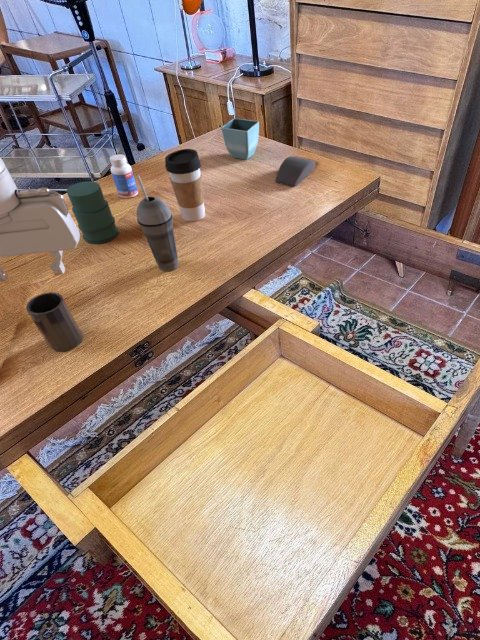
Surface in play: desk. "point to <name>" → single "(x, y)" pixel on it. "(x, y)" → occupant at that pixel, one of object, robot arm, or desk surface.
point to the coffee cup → (187, 182)
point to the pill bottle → (123, 176)
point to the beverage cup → (158, 230)
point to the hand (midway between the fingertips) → (31, 275)
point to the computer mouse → (294, 170)
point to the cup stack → (92, 212)
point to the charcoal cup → (55, 321)
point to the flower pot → (241, 137)
